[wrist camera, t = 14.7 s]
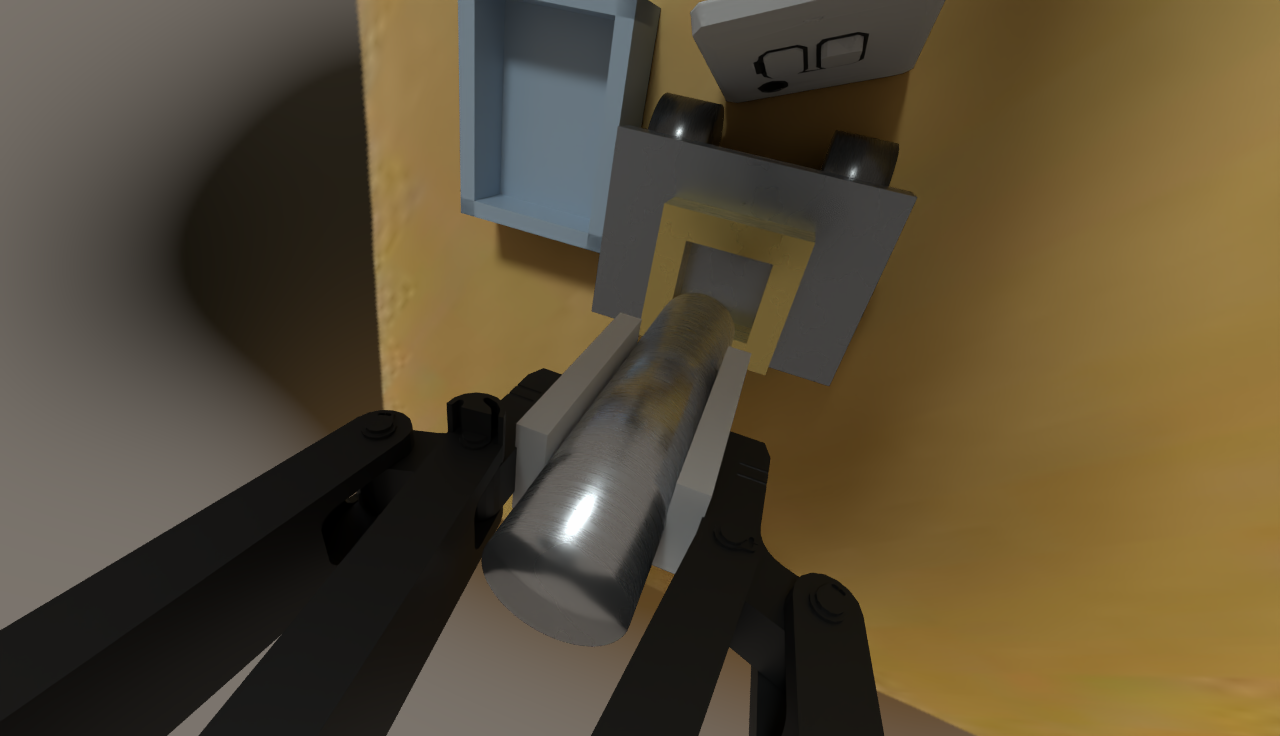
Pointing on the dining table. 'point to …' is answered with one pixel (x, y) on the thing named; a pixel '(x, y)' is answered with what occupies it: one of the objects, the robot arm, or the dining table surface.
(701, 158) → the trolley
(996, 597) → the dining table surface
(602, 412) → the pin
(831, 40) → the electrical switch
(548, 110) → the tray
